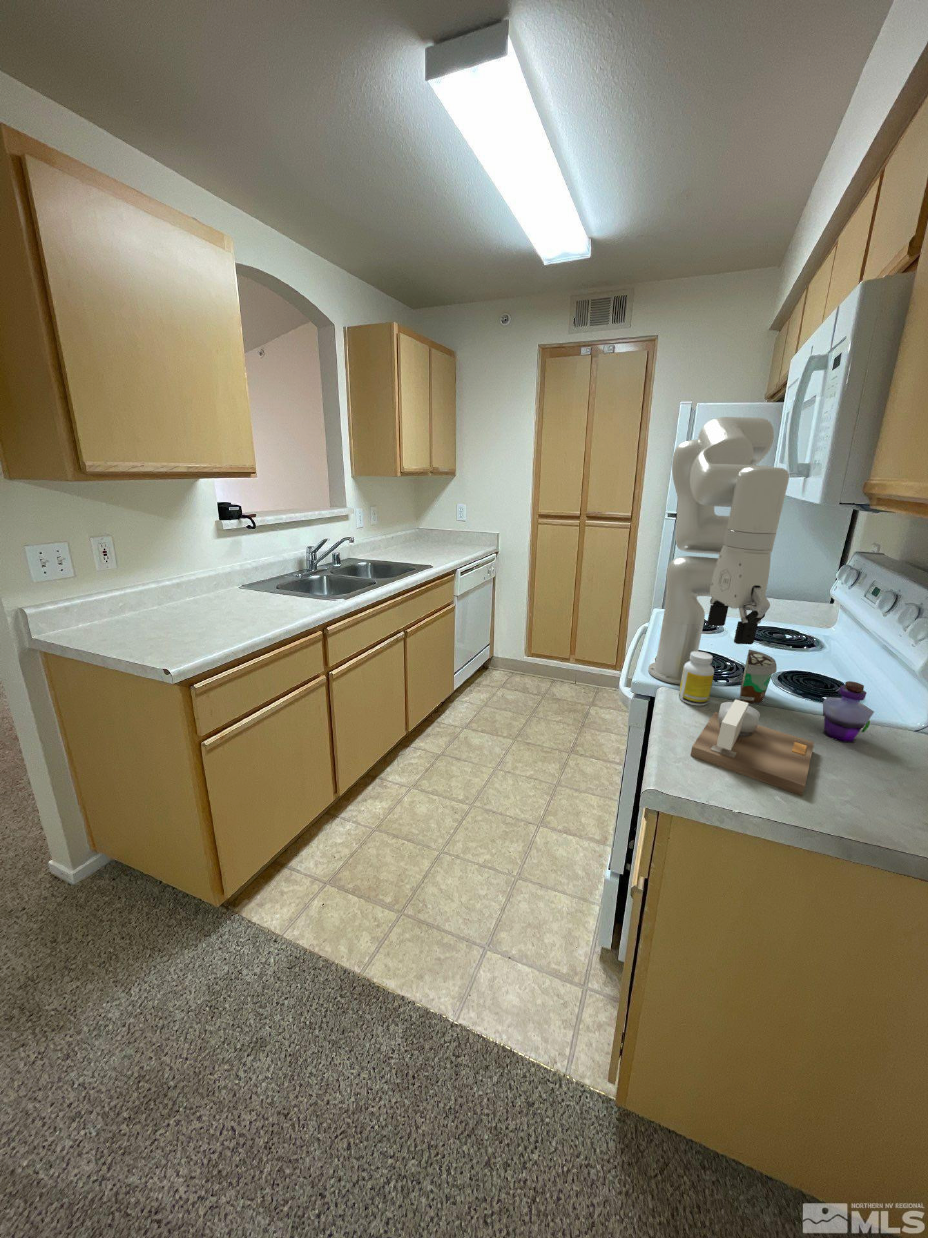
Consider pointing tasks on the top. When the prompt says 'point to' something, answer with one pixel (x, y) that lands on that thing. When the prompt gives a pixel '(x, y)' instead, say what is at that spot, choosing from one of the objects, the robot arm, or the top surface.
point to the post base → (759, 755)
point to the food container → (756, 676)
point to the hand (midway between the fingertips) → (728, 633)
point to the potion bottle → (846, 713)
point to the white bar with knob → (735, 722)
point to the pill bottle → (697, 679)
